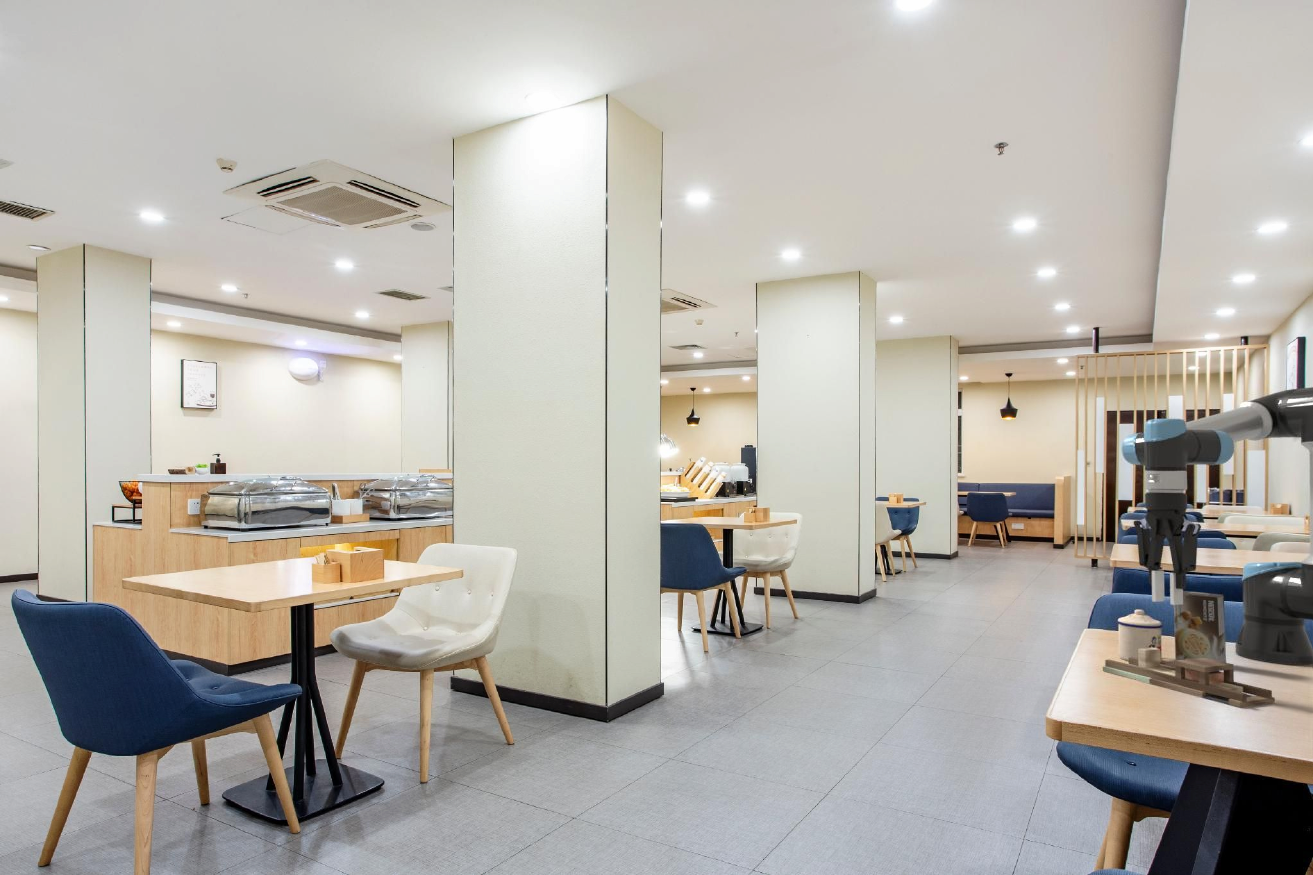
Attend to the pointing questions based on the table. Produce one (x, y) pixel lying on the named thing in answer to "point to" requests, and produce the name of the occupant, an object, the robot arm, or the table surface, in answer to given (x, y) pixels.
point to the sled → (1151, 661)
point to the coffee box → (1200, 627)
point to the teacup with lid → (1138, 634)
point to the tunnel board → (1192, 686)
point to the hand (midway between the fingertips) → (1167, 602)
